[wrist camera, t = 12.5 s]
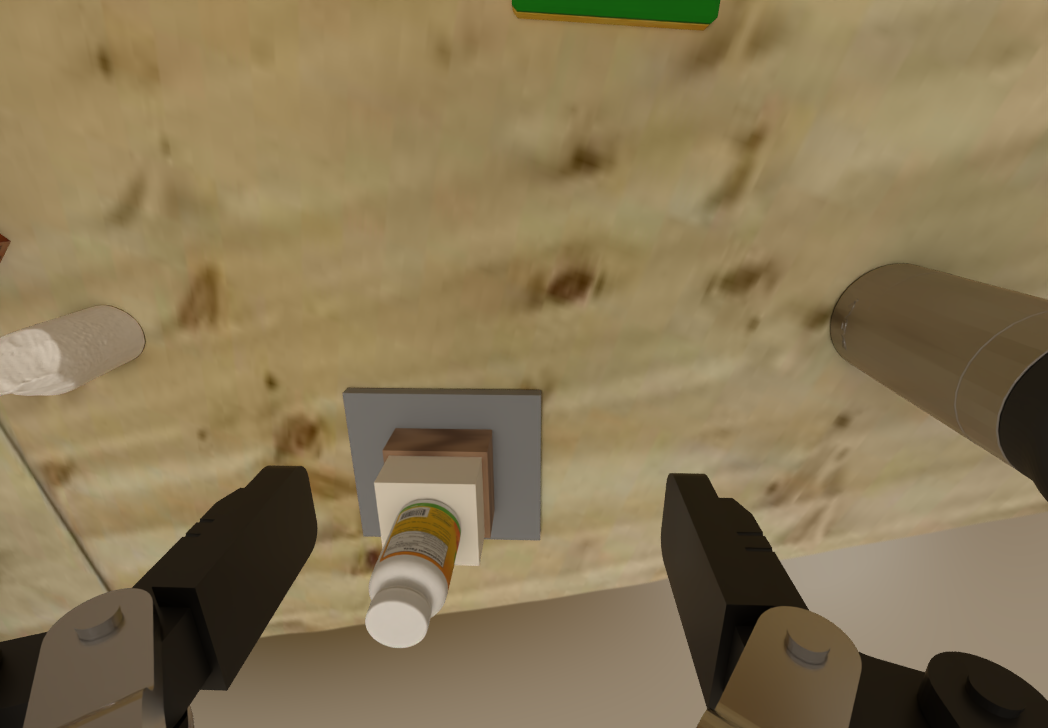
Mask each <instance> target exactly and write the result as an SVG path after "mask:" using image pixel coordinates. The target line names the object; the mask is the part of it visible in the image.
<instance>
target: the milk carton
mask: <svg viewBox="0 0 1048 728" xmlns="http://www.w3.org/2000/svg"><path fill="white" fill-rule="evenodd" d="M10 242H11V241H10V240H8V239H7V238H5V237H4V236H3V235H1V234H0V262H1V260H2V258H3V256H4V254H5V252H6V250H7V248H8V246H9V244H10Z"/></svg>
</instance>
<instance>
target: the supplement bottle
mask: <svg viewBox="0 0 1048 728" xmlns="http://www.w3.org/2000/svg"><path fill="white" fill-rule="evenodd" d="M460 537H461V524H460V521H459V519H458V517H457V515H456V514H455V512H454V511H453V510H452V509H450V508H449V507H448V506H446V505H445V504H443V503H440V502H438V501H434V500H417V501H414V502H411V503H409V504H407V505H406V506H404V507H403V508H402V509H401V510H400V512H399V513H398V515H397V517H396V519H395V521H394V523H393V526H392V528H391V530H390V533H389V535H388V537H387V540H386V542H385V545H384V547H383V549H382V552H381V554H380V556H379V559H378V561H377V563H376V565H375V568H374V570H373V573H372V575H371V578H370V582H369V595H370V598H371V603H370V606H369V609H368V612H367V614H366V618H365V624H366V628H367V630H368V632H369V634H370V635H371V636H372V637H373V638H374V639H375V640H376V641H378V642H380V643H381V644H384V645H386V646H389V647H394V648H406V647H410V646H413V645H415V644H417V643H418V642H420V641H421V640H422V639H423V638H424V636H425V635H426V632H427V629H428V625H429V622H430V618H431V617H433V616H434V615H436V614H437V613H438V612H439V611H440V609H441V608H442V607H443V605H444V603H445V600H446V597H447V593H448V589H449V585H450V581H451V576H452V572H453V568H454V564H455V559H456V555H457V551H458V546H459V542H460Z"/></svg>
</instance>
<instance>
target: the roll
mask: <svg viewBox="0 0 1048 728" xmlns="http://www.w3.org/2000/svg"><path fill="white" fill-rule="evenodd" d="M144 345H145V339H144V334H143V331H142V329H141V327H140V325H139V324H138V322H137V321H136V320H135V319H134V318H132V317H131V316H130V315H129V314H127V313H126V312H124V311H122V310H120V309H117V308H115V307H111V306H107V305H98V306H93V307H90V308H87V309H83V310H80V311H77V312H74V313H71V314H68V315H64V316H61V317H58V318H55V319H52V320H49V321H45V322H42V323H39V324H35V325H33V326H29V327H26V328H23V329H21V330H18V331H15V332H12V333H9V334H7V335H5V336H2V337H0V396H2V395H6V394H10V393H12V394H16V395H26V396H31V395H59V394H63V393H66V392H69V391H71V390H74V389H76V388H78V387H80V386H82V385H84V384H86V383H88V382H90V381H91V380H93V379H95V378H97V377H99V376H101V375H103V374H105V373H107V372H109V371H111V370H113V369H115V368H117V367H119V366H121V365H123V364H125V363H127V362H129V361H131V360H133V359H135V358H137V357H138V356H139V355H140V354H141V353H142V350H143V348H144Z"/></svg>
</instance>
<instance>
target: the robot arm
mask: <svg viewBox="0 0 1048 728" xmlns="http://www.w3.org/2000/svg"><path fill="white" fill-rule="evenodd" d="M830 330H831V338H832V341H833V344H834V346H835V349H836V350H837V351H838V353H839V354H840V355H841V357H843V358H844V359H845V360H846V361H848V362H849V363H850V364H852V365H853V366H855V367H857V368H858V369H860V370H861V371H863V372H864V373H866V374H868V375H869V376H871V377H872V378H874V379H875V380H876V381H878V382H880V383H881V384H883V385H884V386H886V387H887V388H889V389H891V390H892V391H894V392H895V393H897V394H898V395H900V396H901V397H903V398H905V399H906V400H908V401H909V402H911V403H912V404H914V405H916V406H917V407H919V408H920V409H922V410H923V411H925V412H927V413H928V414H930V415H931V416H933V417H934V418H936V419H938V420H939V421H941V422H942V423H944V424H945V425H947V426H948V427H950V428H952V429H953V430H955V431H956V432H958V433H959V434H961V435H963V436H964V437H966V438H967V439H969V440H970V441H972V442H974V443H975V444H977V445H979V446H980V447H982V448H983V449H985V450H986V451H988V452H990V453H991V454H993V455H994V456H996V457H997V458H999V459H1000V460H1002V461H1004V462H1005V463H1007V464H1008V465H1010V466H1011V467H1013V468H1015V469H1016V470H1018V471H1019V472H1020V473H1022V474H1023V475H1025V476H1026V477H1028V478H1030V479H1031V480H1032V481H1033V482H1034V483H1035V485H1036V487H1037V488H1038V490H1039V491H1040V493H1041V494H1042V496H1043V497H1044V498H1045V499H1046V500H1047V501H1048V300H1046V299H1043V298H1039V297H1035V296H1031V295H1027V294H1023V293H1020V292H1016V291H1012V290H1008V289H1004V288H1001V287H997V286H993V285H989V284H985V283H981V282H978V281H974V280H970V279H966V278H962V277H959V276H955V275H952V274H948V273H944V272H940V271H936V270H932V269H928V268H925V267H921V266H916V265H912V264H892V265H886V266H882V267H880V268H877V269H875V270H872V271H870V272H868V273H867V274H865V275H863V276H862V277H860V278H859V279H858V280H856V281H855V282H854V283H853V284H852V285H851V286H849V288H848V289H847V290H846V291H845V292H844V294H843V295H842V296H841V298H840V300H839V301H838V303H837V305H836V307H835V309H834V312H833V315H832V319H831V328H830ZM316 538H317V520H316V514H315V509H314V504H313V498H312V493H311V488H310V482H309V477H308V473H307V471H306V469H305V468H304V467H302V466H266V467H264V468H263V469H262V470H261V471H260V472H259V473H258V474H257V475H256V477H255V478H254V479H253V480H252V481H251V482H250V483H249V484H248V485H247V486H246V487H245V488H239V489H238V490H236V491H234V492H233V493H231V494H229V495H228V496H226V497H224V498H223V499H221V500H219V501H218V502H216V503H215V504H214V505H213V506H212V507H211V508H210V509H209V511H208V512H207V513H206V514H205V515H204V516H203V517H202V518H201V519H200V522H199V523H196V524H195V525H194V526H193V527H192V528H191V529H190V530H189V531H188V532H187V533H186V536H185V537H182V538H181V539H180V540H179V541H178V542H177V543H176V544H175V545H174V546H173V547H172V548H171V549H170V550H169V551H168V552H167V553H166V554H165V555H164V556H163V557H162V558H161V559H160V560H159V561H158V562H157V563H156V564H155V565H154V566H153V567H152V568H151V569H150V570H149V571H148V572H147V573H146V574H145V575H144V576H143V577H142V578H141V579H140V580H139V581H138V582H137V583H136V584H135V585H134V586H133V587H132V588H127V589H119V590H115V591H111V592H107V593H104V594H101V595H99V596H96V597H94V598H92V599H90V600H88V601H86V602H84V603H82V604H80V605H79V606H77V607H75V608H74V609H72V610H71V611H69V612H68V613H66V614H65V615H64V616H63V617H61V618H60V619H59V620H58V621H57V622H56V623H55V624H54V625H53V626H52V627H51V628H50V630H49V631H48V632H45V633H40V634H35V635H31V636H26V637H22V638H17V639H12V640H8V641H3V642H0V728H194V718H193V713H192V709H191V707H190V704H191V702H192V701H193V699H194V698H195V696H196V695H197V693H198V692H199V690H226V691H227V690H228V688H229V687H230V685H231V683H232V682H233V680H234V678H235V677H236V675H237V673H238V672H239V670H240V668H241V667H242V665H243V664H244V662H245V660H246V659H247V657H248V655H249V654H250V652H251V651H252V649H253V647H254V646H255V644H256V643H257V641H258V639H259V638H260V636H261V634H262V633H263V631H264V629H265V628H266V626H267V625H268V623H269V621H270V620H271V618H272V616H273V615H274V613H275V612H276V610H277V608H278V607H279V605H280V603H281V602H282V600H283V598H284V597H285V595H286V594H287V592H288V590H289V589H290V587H291V585H292V584H293V582H294V581H295V579H296V577H297V576H298V574H299V572H300V571H301V569H302V567H303V566H304V564H305V563H306V561H307V559H308V558H309V556H310V554H311V553H312V551H313V548H314V546H315V542H316ZM661 549H662V556H663V561H664V565H665V568H666V571H667V575H668V578H669V581H670V585H671V588H672V592H673V595H674V598H675V602H676V605H677V608H678V612H679V615H680V618H681V622H682V625H683V629H684V632H685V635H686V639H687V642H688V646H689V649H690V652H691V656H692V659H693V662H694V666H695V669H696V672H697V676H698V679H699V682H700V686H701V689H702V693H703V696H704V699H705V703H706V706H707V710H706V711H705V713H704V714H703V716H702V718H701V720H700V722H699V723H698V725H697V727H696V728H1048V701H1047V700H1046V699H1045V698H1044V697H1043V695H1041V694H1040V693H1039V692H1038V691H1037V690H1036V689H1035V688H1034V687H1032V686H1031V685H1030V684H1029V683H1027V682H1026V681H1025V680H1023V679H1022V678H1021V677H1019V676H1017V675H1016V674H1014V673H1013V672H1011V671H1009V670H1008V669H1006V668H1004V667H1002V666H1000V665H998V664H996V663H994V662H991V661H989V660H987V659H984V658H981V657H978V656H975V655H972V654H968V653H962V652H943V653H940V654H937V655H935V656H934V657H933V658H932V659H931V660H930V662H929V664H928V666H927V669H926V671H925V672H922V671H918V670H915V669H911V668H907V667H904V666H900V665H897V664H894V663H890V662H887V661H883V660H880V659H876V658H874V657H870V656H867V655H865V654H862V653H860V652H858V650H857V648H856V647H855V645H854V644H853V642H852V641H851V639H850V638H849V637H848V636H847V635H846V634H845V633H844V632H843V631H842V630H841V629H840V628H839V627H837V626H836V625H835V624H834V623H832V622H830V621H829V620H827V619H826V618H824V617H822V616H820V615H818V614H816V613H813V612H811V611H809V609H808V608H807V606H806V604H805V603H804V601H803V599H802V598H801V596H800V594H799V593H798V591H797V589H796V588H795V586H794V584H793V582H792V581H791V579H790V577H789V576H788V574H787V572H786V571H785V569H784V568H783V566H782V564H781V562H780V561H779V559H778V557H777V556H776V554H775V552H772V547H771V545H770V544H769V542H768V540H767V539H766V537H765V536H763V532H762V530H761V529H760V527H759V525H758V524H757V522H756V520H755V518H754V517H753V515H752V514H751V513H750V512H749V511H748V510H746V509H745V508H744V507H743V506H742V505H740V504H739V503H738V502H737V501H735V500H734V499H733V498H719V497H718V496H717V494H716V492H715V490H714V488H713V486H712V484H711V482H710V480H709V478H708V477H707V475H706V474H686V473H670V474H669V475H668V478H667V483H666V492H665V501H664V510H663V519H662V528H661Z"/></svg>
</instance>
